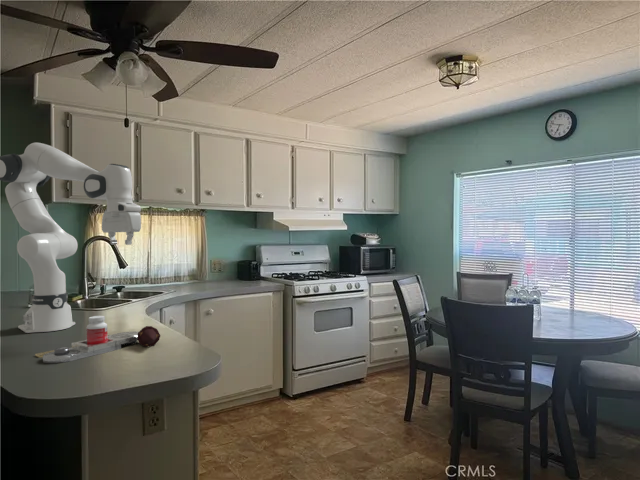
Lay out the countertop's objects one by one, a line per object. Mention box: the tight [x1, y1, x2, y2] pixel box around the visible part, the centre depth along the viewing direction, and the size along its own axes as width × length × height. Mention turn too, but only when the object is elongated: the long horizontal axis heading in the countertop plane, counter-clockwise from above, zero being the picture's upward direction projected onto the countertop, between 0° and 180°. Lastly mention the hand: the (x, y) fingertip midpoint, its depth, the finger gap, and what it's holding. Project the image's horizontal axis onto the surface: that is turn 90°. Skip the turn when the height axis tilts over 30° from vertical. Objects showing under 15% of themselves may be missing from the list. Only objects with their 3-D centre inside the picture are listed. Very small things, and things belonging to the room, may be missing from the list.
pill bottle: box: [86, 315, 109, 345], centre depth 148 cm, size 6×6×11 cm
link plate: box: [34, 349, 55, 358], centre depth 145 cm, size 8×3×1 cm, turn 143°
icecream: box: [137, 325, 161, 348], centre depth 153 cm, size 7×7×15 cm
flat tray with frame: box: [42, 331, 139, 364], centre depth 148 cm, size 32×10×3 cm, turn 146°
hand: (121, 244), depth 168 cm, fingers open, 8 cm apart
